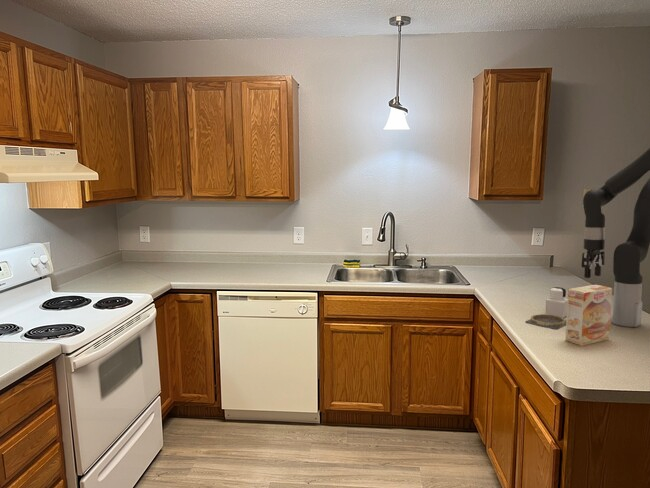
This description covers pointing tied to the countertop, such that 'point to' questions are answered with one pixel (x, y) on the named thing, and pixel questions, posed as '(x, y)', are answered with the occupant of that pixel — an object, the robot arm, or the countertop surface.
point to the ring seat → (547, 321)
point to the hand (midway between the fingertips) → (592, 276)
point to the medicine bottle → (557, 302)
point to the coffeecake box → (588, 314)
